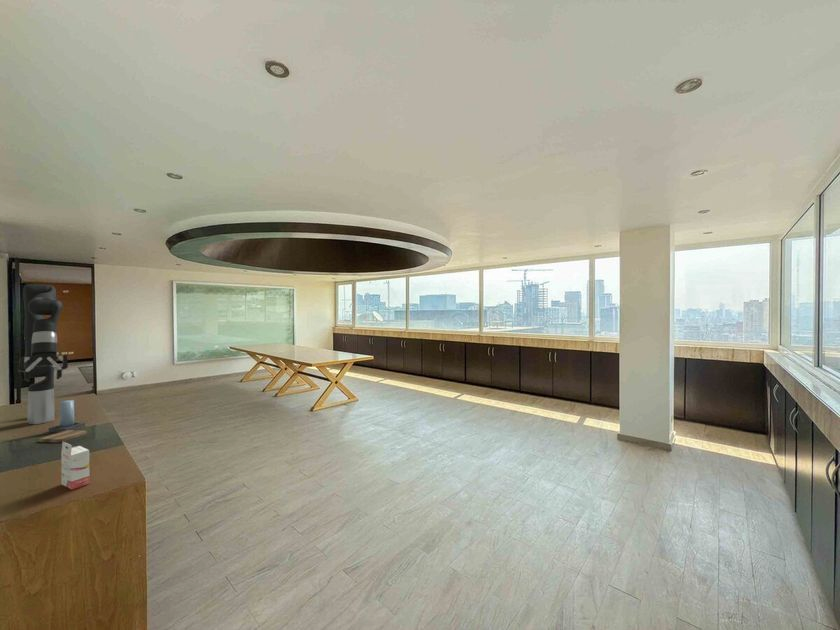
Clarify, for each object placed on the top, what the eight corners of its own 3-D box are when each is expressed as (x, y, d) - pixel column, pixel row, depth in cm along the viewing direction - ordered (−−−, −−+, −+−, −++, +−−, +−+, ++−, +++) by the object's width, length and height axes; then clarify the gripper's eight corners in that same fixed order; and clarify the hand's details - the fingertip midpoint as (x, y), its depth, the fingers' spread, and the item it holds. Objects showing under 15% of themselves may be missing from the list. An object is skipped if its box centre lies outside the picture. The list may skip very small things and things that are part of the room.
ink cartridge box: (90, 483, 117) (90, 441, 117) (71, 490, 113) (70, 446, 113) (80, 478, 121) (79, 436, 121) (60, 484, 117) (60, 441, 117)
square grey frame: (48, 432, 167) (48, 428, 167) (68, 426, 176) (68, 422, 176) (65, 432, 167) (65, 428, 167) (84, 426, 176) (84, 422, 176)
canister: (56, 430, 169) (56, 402, 169) (67, 427, 174) (67, 400, 174) (66, 431, 169) (66, 402, 169) (77, 427, 174) (76, 400, 174)
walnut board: (39, 442, 155) (38, 438, 155) (65, 433, 166) (65, 430, 166) (61, 442, 154) (61, 439, 154) (86, 433, 165) (86, 430, 165)
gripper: (66, 344, 157) (65, 379, 154) (18, 345, 146) (17, 383, 143) (69, 340, 153) (68, 377, 150) (20, 341, 142) (18, 380, 139)
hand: (43, 380), depth 146 cm, fingers open, 8 cm apart
